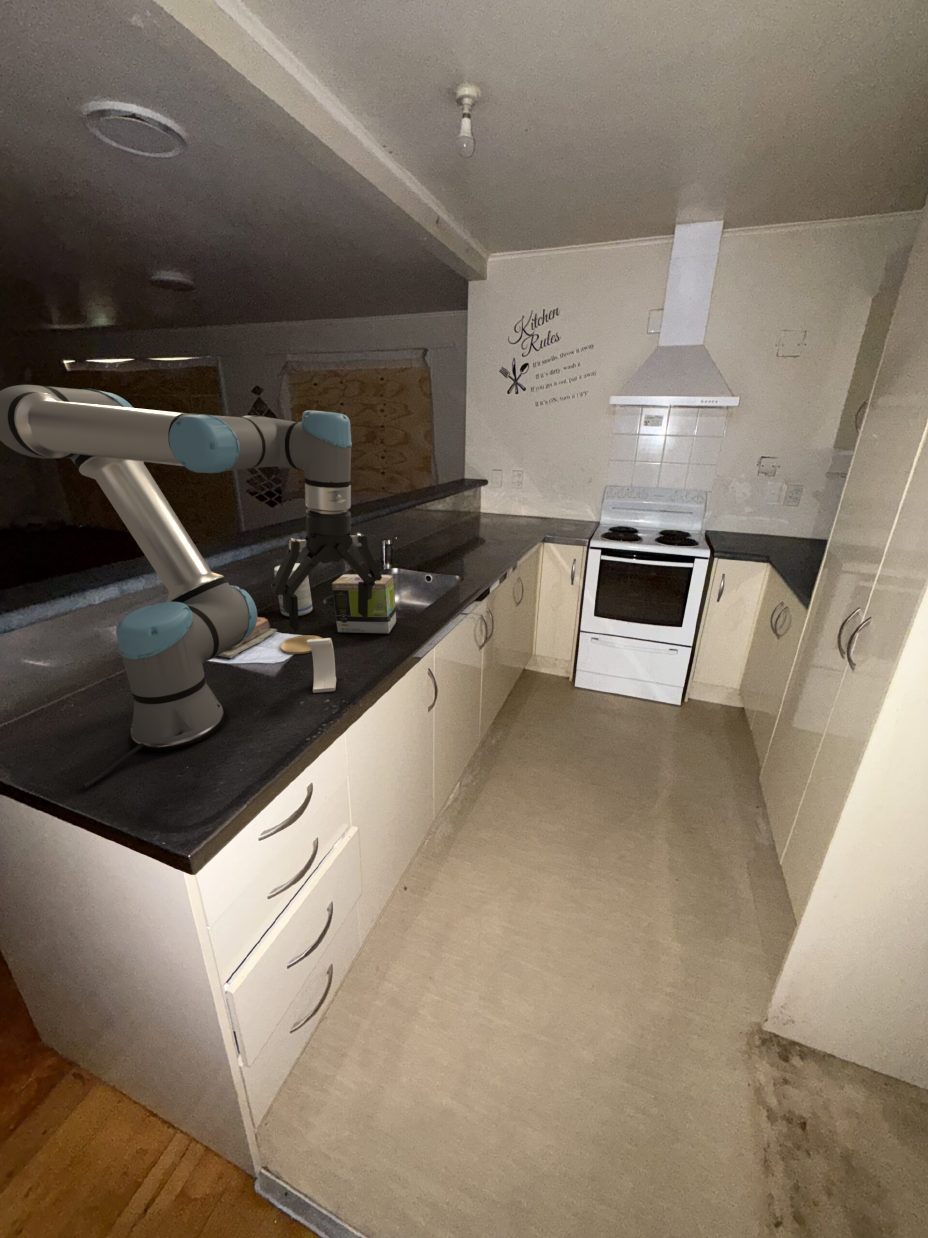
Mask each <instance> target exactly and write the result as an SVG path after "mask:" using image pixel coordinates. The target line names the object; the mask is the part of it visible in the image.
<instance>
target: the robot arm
mask: <svg viewBox="0 0 928 1238" xmlns="http://www.w3.org/2000/svg"><path fill="white" fill-rule="evenodd" d="M301 417H302V419H301V421H292V420H286V419H279V418H274V417H268V416H264V415H242V416H230V415H229V416H228V415H227V416H226V415H213V414H204V413H186V412H177V411H167V410H156V409H146V408H135V407H134V406H132V404H131V403H130V402H128V401H127V400H126V399H125V398H123V397H121V396H120V395H117V394H114V393H112V392H107V391H102V390H99V389H94V388H81V389H79V388H71V387H69V388H68V387H58V386H46V385H37V384H36V385H35V384H18V385H11V386H8V387H6V388H4V389H1V390H0V442H2V443H3V445H4V446H6V447H8V448H9V449H11V450H13V451H14V452H16V453H18V454H21V455H24V456H26V457H30V458H35V459H36V458H37V459H51V460H52V459H70V460H71V461H72V463H73V464H74V466H75V467H76V468H77V470H78V472H79V474H81V475H82V476H84V477H86V478H90V479H92V480H95V481H96V483H97V484H98V485H99V488H100V489H101V490H102V492H103V493H104V494H105V496H106V498H107V499H108V501H109V502H110V504H111V505H112V507H113V508H114V511H116V513H117V515H118V516H119V518H120V520H122V522H123V524H124V526H125V527H126V528H127V530H128V531H129V533H130V534H131V537H132V538H133V539H134V540H135V542H136V544H137V545H138V547H139V548H140V550H141V551H142V553H143V554H144V556H145V557H146V559H147V560H148V562H149V563H150V566H151V567H152V568H153V570H154V571H155V573H156V575H158V577H159V579H160V580H161V582H162V584H163V585H164V586H165V588H166V590H167V591H168V595H167V598H166V601H163V602H157V603H155V604H153V605H146V606H142V607H141V608H138V609H135V610H134V611H131V612H130V613H128V614H126V615H125V616H123V618H122V619H120V621H119V622H118V624H117V625H116V628H115V635H116V640H117V650H118V653H119V654H120V656H121V659H122V662H123V666H124V670H125V673H126V677H127V680H128V683H129V688H130V691H131V694H132V698H133V713H132V723H131V726H130V736H131V739H132V742H133V745H134V746H135V747H134V748H132V750H130V751H128V752H127V753H126V754H125V755H123V756H122V757H121V758H119V759H118V760H116V761H115V762H114V763H113V764H111V766H109V767H108V768H106V769H105V770H104V771H102V772H101V773H99V774H98V775H96V776H95V777H93V778H92V779H90V780H89V781H86V783H83V784H82V787H83V789H88V788H89V787H91V786H92V785H94V784H95V783H97V782H99V781H100V780H102V779H103V778H105V777H106V776H107V775H109V774H110V773H111V772H112V771H114V770H115V769H116V768H117V767H119V766H120V765H121V764H123V763H124V762H125V761H126V760H128V759H129V758H130V757H131V756H133V755H134V754H135V753H137V752H138V751H139V750H142V751H145V752H151V753H152V752H153V753H154V752H155V753H157V752H170V751H176V750H179V749H183V748H184V749H185V748H186V747H190V746H192V745H195V744H198V743H200V742H202V741H204V740H206V739H207V738H209V737H211V736H212V735H213V734H215V733H216V732H217V731H218V730H219V729H220V728H221V727H222V726H223V724H224V722H225V719H226V718H225V712H224V708H223V705H222V704H221V703H220V702H219V700H218V699H217V697H216V696H215V694H214V692H213V691H212V689H211V688H210V686H209V685H208V684H207V680H206V675H205V670H204V664H205V663H207V662H208V661H211V660H212V659H214V658H215V657H218V656H217V655H219V654H221V653H222V652H224V651H226V650H228V649H229V648H231V647H233V646H236V645H237V644H240V643H241V642H242V641H243V640H244V639H246V638H247V637H248V636H250V635H251V634H252V632H253V631H254V629H255V627H256V621H257V617H258V610H257V606H256V603H255V602H254V599H253V598H252V596H251V594H249V592H248V591H247V590H245V589H244V588H243V589H242V588H241V587H239V586H237V585H230V583H229V582H228V580H227V579H226V577H225V576H224V575H223V574H219V573H216V572H214V571H212V570H211V569H210V567H209V565H208V564H207V562H206V560H205V558H204V557H203V555H202V554H201V552H200V551H199V549H198V547H197V546H196V544H195V543H194V541H193V540H192V538H191V536H190V535H189V533H188V532H187V530H186V529H185V527H184V525H183V524H182V522H181V521H180V519H179V517H178V516H177V514H176V513H175V511H174V509H173V507H171V505H170V503H169V501H168V500H167V497H165V495H164V494H163V492H162V490H161V488H160V487H159V485H158V484H157V482H156V481H155V479H154V477H153V476H152V474H151V473H150V471H149V469H148V468H147V466H146V465H145V463H153V464H163V465H170V466H179V467H184V468H186V469H187V470H188V471H190V472H194V473H197V474H199V473H200V474H201V473H203V474H204V473H206V474H220V473H223V472H228V471H229V472H230V471H238V470H249V469H260V468H269V467H277V468H286V469H293V470H299V471H303V476H304V504H305V505H304V506H305V507H306V508H307V509H306V510H305V531H306V535H305V538H304V539H296V538H294V537H288V539H287V545H286V546H287V547H286V551H285V553H284V556H283V558H282V561H281V563H280V565H279V566H280V567H279V569H278V572H277V574H276V576H275V575H274V579H273V580H272V582H271V585H270V590H271V591H272V592H273V593H274V594H275V595H276V596H278V595H283V608H284V610H285V611H286V612H287V613H289V616H288V623H289V626H290V627H291V628H292V629H293V631H294V632H297V631H300V622H299V616H298V597H297V596H296V595H295V594H294V593H295V591H296V590H297V589H298V587H299V586H300V585H301V584H302V582H303V581H304V580H305V578H306V577H307V576H308V577H309V574H310V573H311V572H312V571H313V569H314V568H317V566H318V565H319V564H320V563H322V564H328V563H331V562H332V563H339V562H340V561H341V560H343V561H344V562H345V563H346V564H347V565H348V566H349V567H350V568H351V570H353V572H354V573H355V574H357V575H358V576H359V577H360V578H361V579H362V580H363V582H358V613H359V614H360V615H362V616H363V617H364V618H365V617H368V600H369V599H371V597H372V586H374V585H375V581H377V580H378V581H380V580H381V579H382V576H381V575H382V574H381V572H380V569H379V568H378V565H377V563H376V561H375V559H374V556H373V555H372V553H371V551H370V549H369V545H368V544H369V543H368V536H366V535H365V534H363V533H362V532H359V531H357V532H355V534H353V535H351V529H352V527H351V526H352V513H351V512H350V510H349V509H351V508H352V507H351V506H352V485H351V484H352V481H351V480H352V479H351V474H352V473H351V467H352V464H351V463H352V446H353V443H352V431H351V430H352V429H351V421H350V418H349V417H348V415H346V414H345V413H340V412H333V411H323V410H305V411H303V412H302V416H301ZM352 545H354V547H355V546H356V548H357V551H358V552H359V555H360V557H361V558H362V560H363V563H364V565H365V567H366V569H367V571H368V573H367V571H366V570H364V568H363V567H362V566H361V565H360V564H359V562H357V560H356V559H355V557H354V556H352V554H351V553H350V552H349V550H350V548H351V547H352ZM304 548H306V550H307V552H306V553H305V554H304V556H303V559H302V560H301V562H300V565H299V566H298V567H297V569H296V570H295V571H294V573H293V574H292V575H291V576H290V574H291V572H292V570H293V568H294V565H295V563H297V561H298V559H299V555H300V553H302V552H303V549H304ZM368 574H369V575H368ZM289 577H290V578H289Z"/></svg>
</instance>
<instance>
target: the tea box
mask: <svg viewBox="0 0 928 1238" xmlns="http://www.w3.org/2000/svg"><path fill="white" fill-rule="evenodd" d="M367 574H368V575H369V574H370V573H367ZM381 576H382V579H381V580H380V581H378V580H377V581H375V585H374V586H372V597H371V599H369V600H368V617H365V618H364V617H363V616H362V615H360V614H359V613H358V582H363V580H362V579H361V578H360V577H359V576H358V575H357V573H354V574H353V573H352V574H351V573H348V574H347V573H344V574H342V575H341V576H340V577H338V578H337V579H336V580H334V581H333V582H332V583H331V585H332V586H331V588H332V597H333V605H334V614H335V615H334V616H335V622H336V630H337V633H354V634H355V633H357V634H358V633H359V634H360V633H362V634H390V632H391V631H392V629H393V628H394V626H395V625H396V623H397V610H396V596H395V582H394V581H395V580H394V574H381Z"/></svg>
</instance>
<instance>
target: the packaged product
mask: <svg viewBox="0 0 928 1238" xmlns="http://www.w3.org/2000/svg"><path fill="white" fill-rule="evenodd" d="M277 632H278V629H277V628H271V624H270V622H269V620H268V618H265V617H261V616H257V621H256V627H255V629H254V631H253V632H252V634H251V635H250V636H248V637H247V638H246V639H244V640H243V641H242V642H241V643H240V644H237V645H236V646H233V647H231V648H229V649H228V650H226V651H224V652H222V653H221V654H219V655H217V656H216V657H224V658H228V659H233V657H235V656H237V655H238V654H239V653H241V652H243V651H245V650H247V649H249V648H252V647H253V646H255V645H257V644H260V643H262V642H263V641H264V640H265V639H266V638H268V637H270V636H271V635H273V634H275V633H277Z"/></svg>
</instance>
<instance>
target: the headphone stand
mask: <svg viewBox="0 0 928 1238" xmlns="http://www.w3.org/2000/svg"><path fill="white" fill-rule="evenodd" d="M308 645H310V647H311V651H312V652H311V656H312V663H313V664H312V667H313V684H312V685H313V686H312V693H313V694H318V693H328V692H335V691H336V686H337V677H336V660H335V651H334V650H335V649H334V644H333V640H332V638H331V637H326V638H325V637H324V638H323V639H310V640H307V646H308Z"/></svg>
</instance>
